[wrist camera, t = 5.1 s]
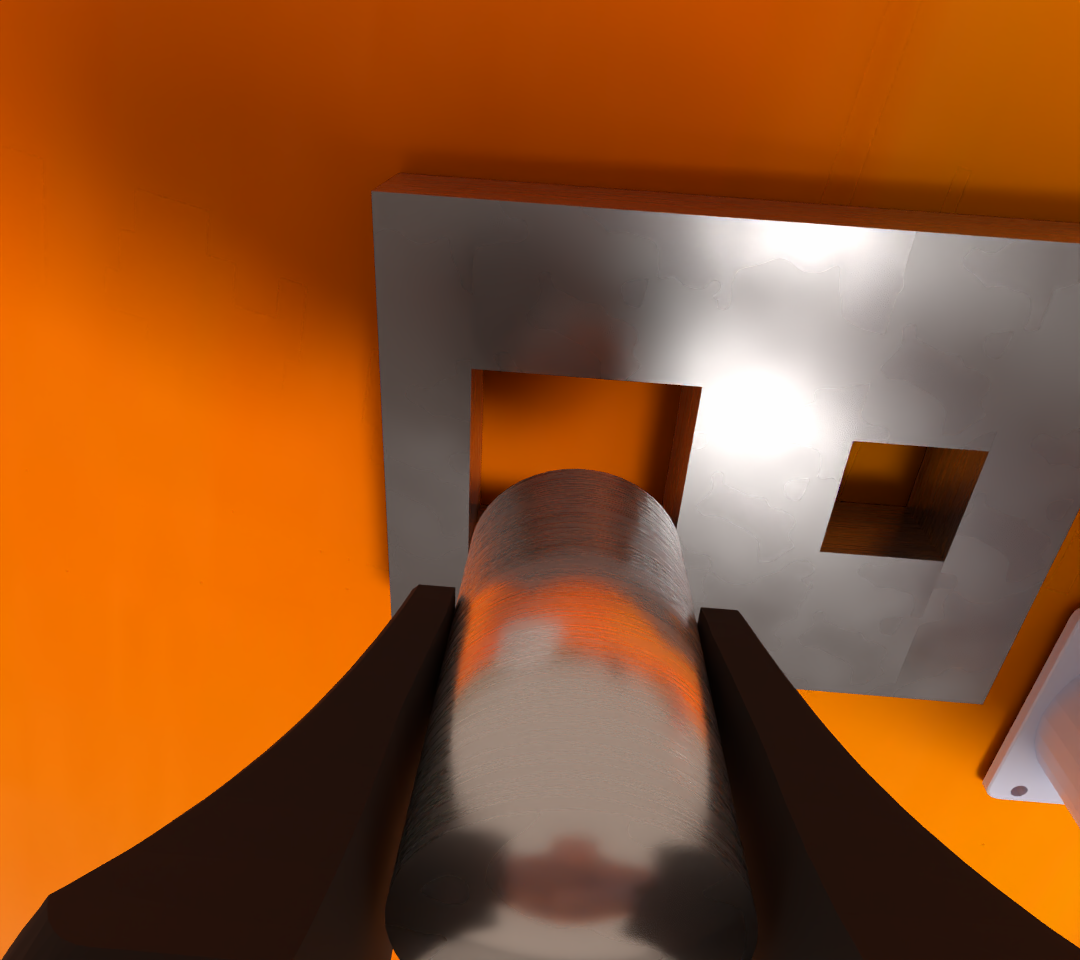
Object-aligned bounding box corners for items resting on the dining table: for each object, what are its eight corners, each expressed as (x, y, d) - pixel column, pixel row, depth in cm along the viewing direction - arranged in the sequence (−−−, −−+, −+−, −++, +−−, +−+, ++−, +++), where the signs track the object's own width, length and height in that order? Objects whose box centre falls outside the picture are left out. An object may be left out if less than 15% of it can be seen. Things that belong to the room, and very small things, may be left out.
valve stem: (704, 486, 13) (808, 843, 7) (656, 656, 15) (705, 1051, 9) (481, 453, 13) (393, 786, 7) (460, 628, 15) (377, 1009, 9)
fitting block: (1124, 226, 16) (1206, 253, 14) (944, 641, 22) (982, 704, 20) (399, 173, 17) (371, 190, 15) (411, 597, 23) (393, 655, 21)
